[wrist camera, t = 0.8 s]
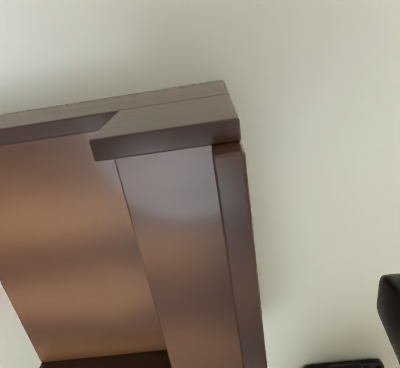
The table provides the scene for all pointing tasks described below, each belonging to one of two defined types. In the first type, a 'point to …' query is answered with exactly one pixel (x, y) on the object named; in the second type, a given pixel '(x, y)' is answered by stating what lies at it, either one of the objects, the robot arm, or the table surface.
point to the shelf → (131, 232)
